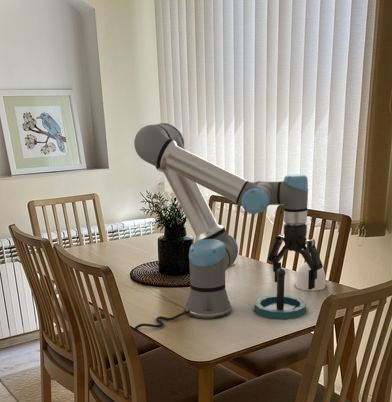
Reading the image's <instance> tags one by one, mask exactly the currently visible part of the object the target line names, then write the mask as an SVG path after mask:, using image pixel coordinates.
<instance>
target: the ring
mask: <svg viewBox="0 0 392 402" xmlns="http://www.w3.org/2000/svg"><path fill="white" fill-rule="evenodd" d="M275 302H277V294H273V295H264V296H262V297H259V298H257V299H256V300H255V303H254V312H255V313H256V314H257V315H258V316H261V317H265V318H268V319H272V320H273V319H275V320H289V319H297V318H299V317H301V316H303V315H305V314H306V309H307V308H306V306H307V302H306V301H305V300H303V299H301V298H300V297H296V296H292V295H285V294H284V303H285V304H289V305H292V306H296V307H297V308H295V309H290V310H272V309H268V308H264V307H266V306H268V305H271V304H273V303H275Z"/></svg>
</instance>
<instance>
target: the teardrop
mask: <svg viewBox="0 0 392 402" xmlns="http://www.w3.org/2000/svg"><path fill="white" fill-rule="evenodd" d="M309 270H311V269H310V267H309V266H308V264H307V262H306V261H305V262H303V263H302V264H301V265H300V266H299V268H298V269H297V272H296V278H295V287H296V288H297V289H299V290H300V291H301V290H302V291H309V292H313V291H314V292H315V291H317V292H318V291H321V290H324V289H326V273H325V272H326V271H325V270H324V267H323V268H321V269H318V270H317V279H315V288H313V289H311V290H309V289H308V281H309Z"/></svg>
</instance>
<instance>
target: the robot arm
mask: <svg viewBox="0 0 392 402" xmlns="http://www.w3.org/2000/svg"><path fill="white" fill-rule="evenodd" d="M133 146H134V151H135V152H136V154H137V156H139V158H140V159H141V160H142V161H144V162H146V163H148V164H150V165H152V166H154V167H155V168H156V170H157V171H158V172H160V173H163V174H164V176H165V178H166V181H167V182H168V185H169V186H170V188H171V190H172V192H173V194H174V196H175V198H176V201H177V202H178V204H179V205H180V207H181V209H182V211H183V214H184V215H185V217H186V220H187V221H188V223H189V225H190V227H191V229H192V231H193V233H194V235H195V238H194V241H193V243H192V244H191V245H190V247H189V252H188V259H189V284H190V289H189V294H188V297H187V302H186V304H185V311H183V312H180V313H177V314H176V315H174V316H171V317H166V316H162V315H161V316H157V317H156V318H155V320H156V322H157V323H158V324H152V323H139V324H137V325H135V327H133V329H132V331H137V330H138V329H139V328H141V327H149V328H161V327H163V326H164V322H163V321H162V320H165V321H173V320H176V319H177V318H180V317H182V316H184V315H185V316H186V315H188V316H190V317H192V318H196V319H202V320H203V319H205V320H210V319H219V318H222V317H226V316H228V315H230V313H231V312H232V305H231V301H230V300H229V296H228V292H227V288H226V271H227V270H228V269H229V268H230V267H232V266H233V265H232V264H233V263H234V264H235V262H236V260H237V258H238V255H239V247H238V243H237V241H236V239H235V238H234V237H233V236H232V235H230V234H228V232H227V230H226V228H225V226H223V225H221V224H218V222H217V220H216V218H215V216H214V213H213V212H212V210H211V208H210V206H209V204H208V202H207V200H206V198H205V196H204V194H203V192H202V190H201V188H200V186H202V187H203V188H206V189H208V190H210V191H212V192H214V193H216V194H218V195H220V196H222V197H224V198H226V199H228V200H230V201H231V202H234V203H235V204H238V205H240V206H242V208H243V210H244V211H245V212H246V213H248V214H251V215H257V214H260V213H263V212H264V211H265V210H266V209H267V208H268V207H269V206H283V223H284V224H283V234H279V235H276V236H275V242H274V244H273V247H272V249H271V251H270V253H269V255H268V257H267V260H268V261H269V262H271V263H272V272H273V273H274V282H275V283H277V274H276V272H277V270H278V269H280V268H282V261H281V260H282V258H283V257H284V256H285V255H286V254H287V253H288V252H289V251H290V252H292V251H293V252H295V253H299V254H300V255H301V256H302V258H303V259H304V261H305V262H307V264H308V266H309V267H310V269H311V270H309V281H308V289H309V290H311V289H313V288H315V279H317V270H318V269H321V268H323V269H324V265H323V263H322V260H321V257H320V255H319V252H318V250H317V247H316V240H315V239H314V238H312V239H307V234H308V224H307V222H308V203H309V202H308V200H309V185H308V182H309V181H308V180H309V179H308V176H306V175H305V174H297V173H296V174H287V175H285V176H284V177H283V180H282V181H261V180H257V181H249V180H247V179H245V178H243V177H241V176H239V175H238V174H237V175H236V174H235V173H233V172H231V171H229V170H227V169H224V168H223V167H221V166H219V165H217V164H215V163H213V162H210V161H209V160H207V159H206V158H205V159H204V158H202V157H201V156H199V155H197V154H195V153H192V152H190V151H189V150H186V148H185V138H184V134H183V133H182V131H181V130H180V129H179V128H178V127H177V126H175V125H173V124H171V123H167V122H159V123H156V124H147V125H145V126H142V127H141V128H140V129H139V130H138V131H137V133H136V134H135V137H134V142H133ZM199 185H200V186H199ZM283 243H284V245H283ZM282 245H283V247H282V248H281V246H282ZM280 248H281V250H280ZM231 265H232V266H231Z"/></svg>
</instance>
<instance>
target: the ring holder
mask: <svg viewBox="0 0 392 402" xmlns="http://www.w3.org/2000/svg"><path fill="white" fill-rule="evenodd" d="M276 274H277V282H276V295H277V302H275V303H273V304H268V305H265V306H263V307H264V308H268V309H272V310H290V309H295V308H297V307H296V306H294V305H290V304H285V303H284V295H285V281H286V280H285V279H286V278H285V277H286V270H285V269H284V268H282V267H281V268H280V269H278V270H277V272H276Z"/></svg>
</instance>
